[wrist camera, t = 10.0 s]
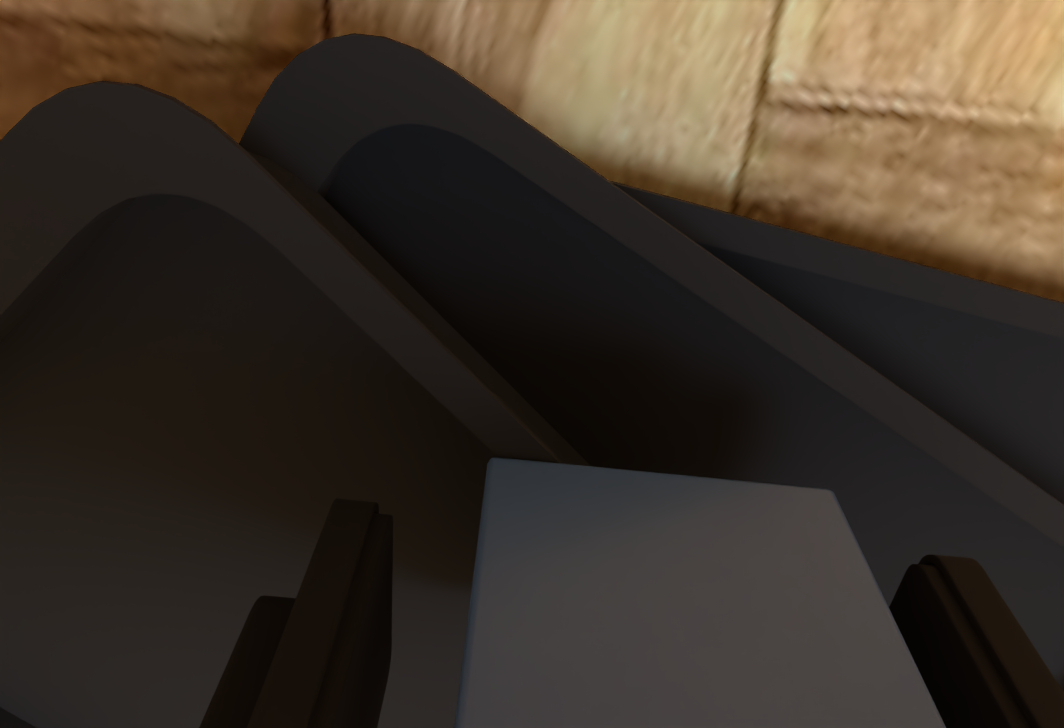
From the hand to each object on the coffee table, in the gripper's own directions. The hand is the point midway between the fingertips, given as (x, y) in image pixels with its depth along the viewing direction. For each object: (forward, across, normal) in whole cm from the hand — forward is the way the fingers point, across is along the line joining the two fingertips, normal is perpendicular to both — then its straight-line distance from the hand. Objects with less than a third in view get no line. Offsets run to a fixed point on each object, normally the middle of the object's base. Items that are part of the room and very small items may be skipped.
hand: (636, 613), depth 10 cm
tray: (+6, 0, +5) cm, 8 cm away
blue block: (0, 0, 0) cm, 1 cm away
